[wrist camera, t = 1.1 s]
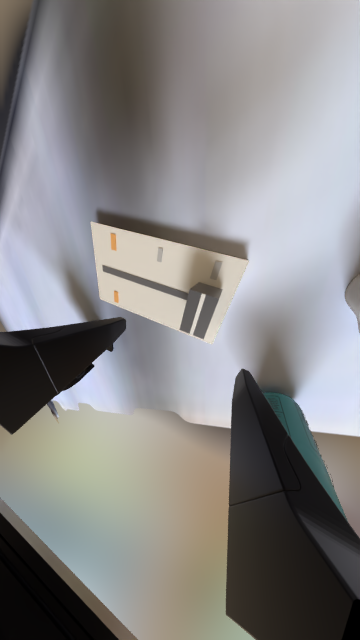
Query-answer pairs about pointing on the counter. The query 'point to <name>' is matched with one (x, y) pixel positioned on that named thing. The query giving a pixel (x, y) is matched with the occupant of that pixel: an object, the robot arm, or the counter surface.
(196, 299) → the block
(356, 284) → the lumpy-topped squat cylinder
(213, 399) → the counter surface
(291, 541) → the robot arm
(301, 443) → the beverage bottle
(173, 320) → the panel
